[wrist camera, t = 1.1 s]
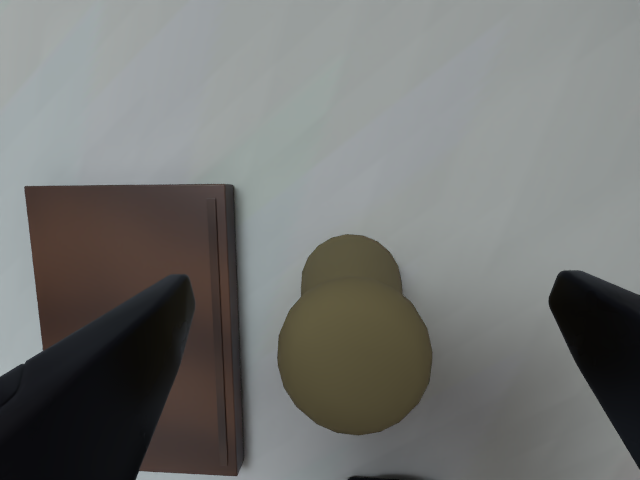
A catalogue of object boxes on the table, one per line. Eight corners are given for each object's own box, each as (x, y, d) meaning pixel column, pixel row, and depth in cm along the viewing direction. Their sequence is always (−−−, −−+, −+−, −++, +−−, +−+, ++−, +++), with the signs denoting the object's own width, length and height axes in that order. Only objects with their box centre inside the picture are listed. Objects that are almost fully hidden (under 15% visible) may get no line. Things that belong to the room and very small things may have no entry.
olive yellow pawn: (305, 334, 22) (264, 472, 11) (296, 238, 21) (243, 283, 10) (403, 329, 21) (462, 469, 10) (398, 230, 21) (456, 271, 10)
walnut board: (244, 458, 23) (236, 478, 22) (73, 450, 24) (54, 468, 23) (233, 184, 21) (224, 183, 19) (45, 186, 22) (22, 186, 20)
